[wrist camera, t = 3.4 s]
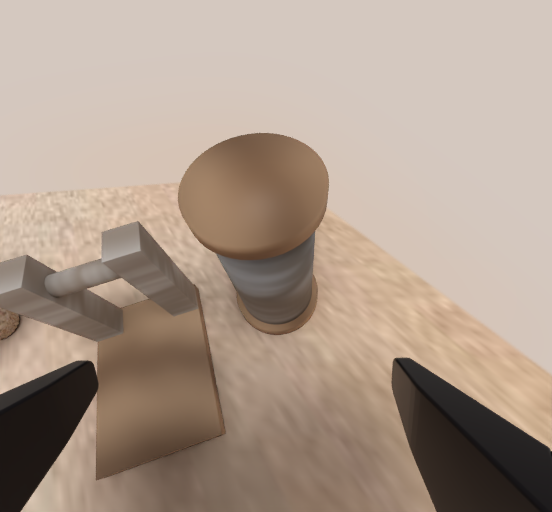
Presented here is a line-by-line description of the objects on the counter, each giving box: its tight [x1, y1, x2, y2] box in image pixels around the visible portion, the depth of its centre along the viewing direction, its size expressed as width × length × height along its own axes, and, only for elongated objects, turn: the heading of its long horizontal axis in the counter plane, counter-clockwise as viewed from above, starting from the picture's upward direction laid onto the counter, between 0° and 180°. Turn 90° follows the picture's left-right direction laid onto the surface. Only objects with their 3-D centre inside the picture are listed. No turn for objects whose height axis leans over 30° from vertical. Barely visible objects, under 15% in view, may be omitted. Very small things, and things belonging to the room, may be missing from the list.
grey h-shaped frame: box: [0, 221, 225, 480], centre depth 17 cm, size 11×8×10 cm
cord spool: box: [178, 133, 329, 335], centre depth 17 cm, size 6×6×13 cm
